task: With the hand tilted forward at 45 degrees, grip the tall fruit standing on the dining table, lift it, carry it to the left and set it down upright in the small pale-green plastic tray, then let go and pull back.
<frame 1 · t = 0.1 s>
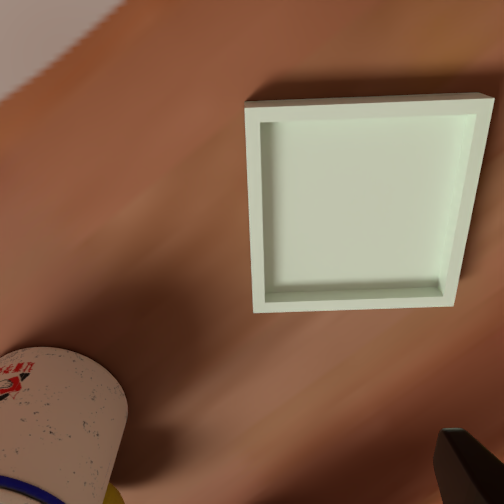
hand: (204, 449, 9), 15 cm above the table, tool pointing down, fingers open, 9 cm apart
lemon: (97, 474, 31), on the table
tray: (353, 205, 22), on the table
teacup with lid: (47, 410, 29), on the table
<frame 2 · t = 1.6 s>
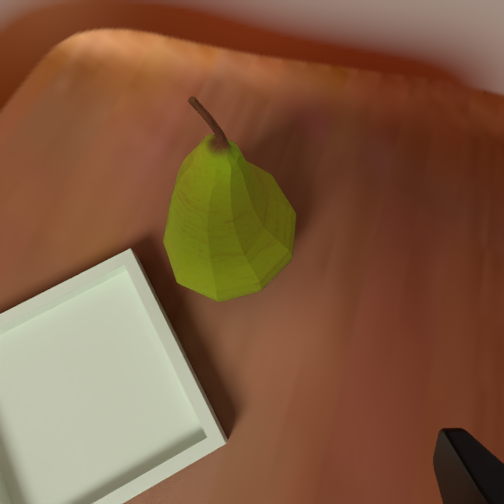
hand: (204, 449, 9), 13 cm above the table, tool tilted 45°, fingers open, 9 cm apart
fruit: (233, 250, 24), on the table
tray: (85, 394, 22), on the table
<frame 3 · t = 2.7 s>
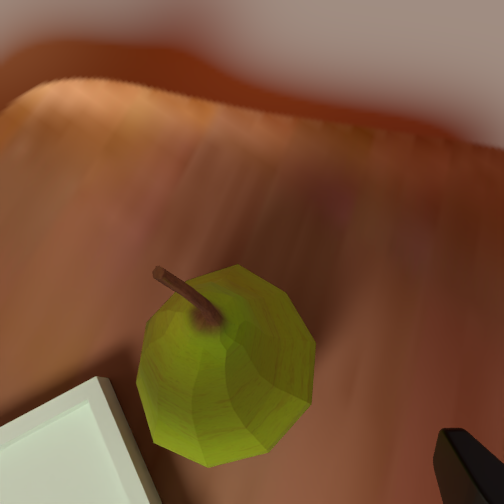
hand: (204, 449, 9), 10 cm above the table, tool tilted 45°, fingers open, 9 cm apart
fruit: (231, 368, 19), on the table
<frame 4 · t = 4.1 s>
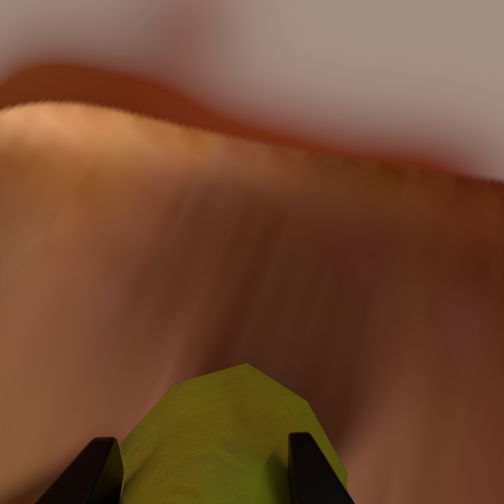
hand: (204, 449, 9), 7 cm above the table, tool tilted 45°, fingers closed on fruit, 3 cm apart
fruit: (231, 476, 15), on the table, touching gripper
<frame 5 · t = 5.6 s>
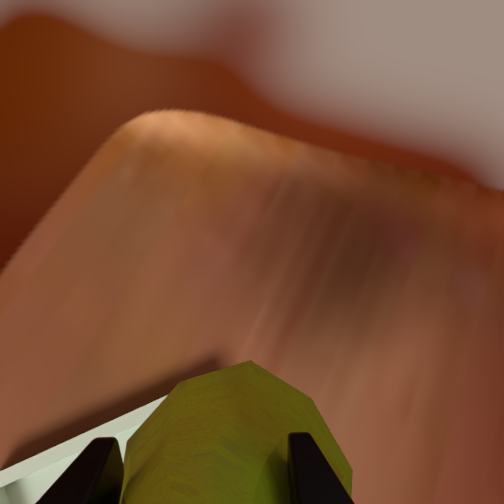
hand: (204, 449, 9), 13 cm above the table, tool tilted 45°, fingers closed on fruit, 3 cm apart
fruit: (238, 473, 15), point 6 cm above the table, touching gripper
when the fingers open (8 cm above the table, at t = 7.2 s): fruit drops 1 cm, resting on tray.
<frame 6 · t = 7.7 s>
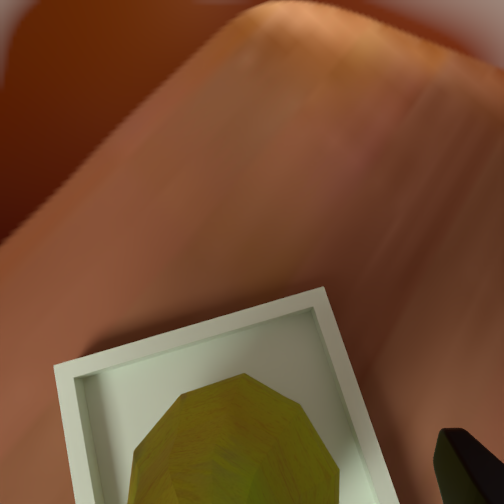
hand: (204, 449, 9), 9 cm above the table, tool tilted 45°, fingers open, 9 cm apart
fruit: (237, 475, 16), resting on tray
tray: (231, 465, 17), on the table
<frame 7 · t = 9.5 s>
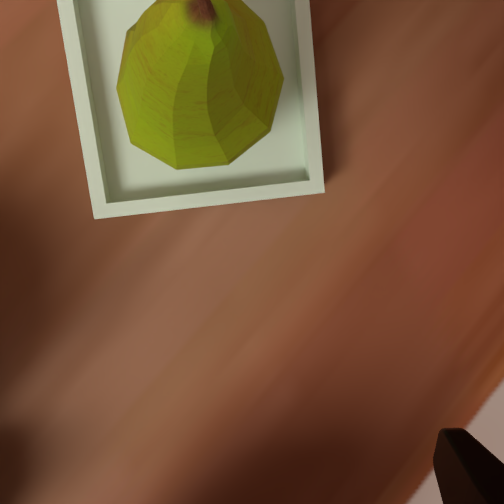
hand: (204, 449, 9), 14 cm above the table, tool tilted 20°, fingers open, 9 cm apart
fruit: (201, 97, 20), resting on tray
tray: (197, 91, 21), on the table
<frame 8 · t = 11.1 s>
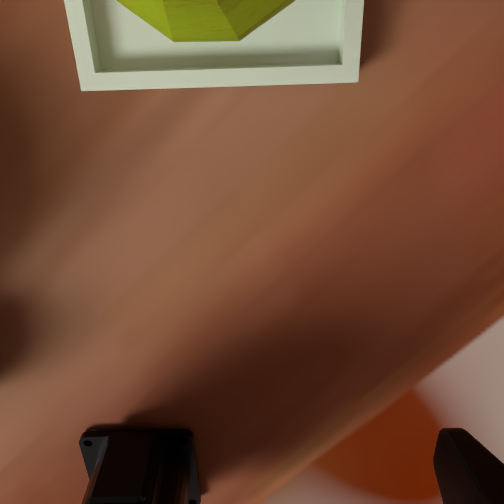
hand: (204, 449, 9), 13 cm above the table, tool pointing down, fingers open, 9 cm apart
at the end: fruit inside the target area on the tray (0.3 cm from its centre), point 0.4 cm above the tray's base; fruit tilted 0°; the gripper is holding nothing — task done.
